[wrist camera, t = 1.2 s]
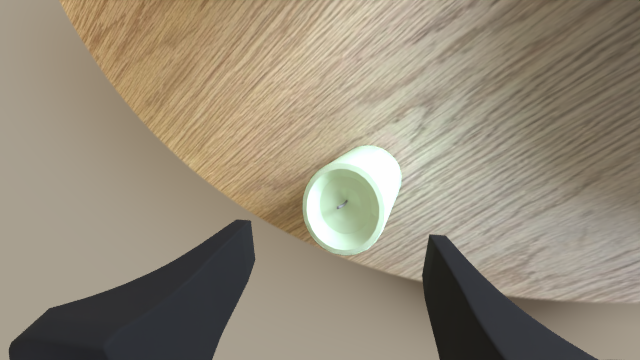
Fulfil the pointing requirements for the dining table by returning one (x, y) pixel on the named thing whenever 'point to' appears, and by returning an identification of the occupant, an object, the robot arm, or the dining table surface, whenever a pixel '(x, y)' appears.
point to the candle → (351, 200)
